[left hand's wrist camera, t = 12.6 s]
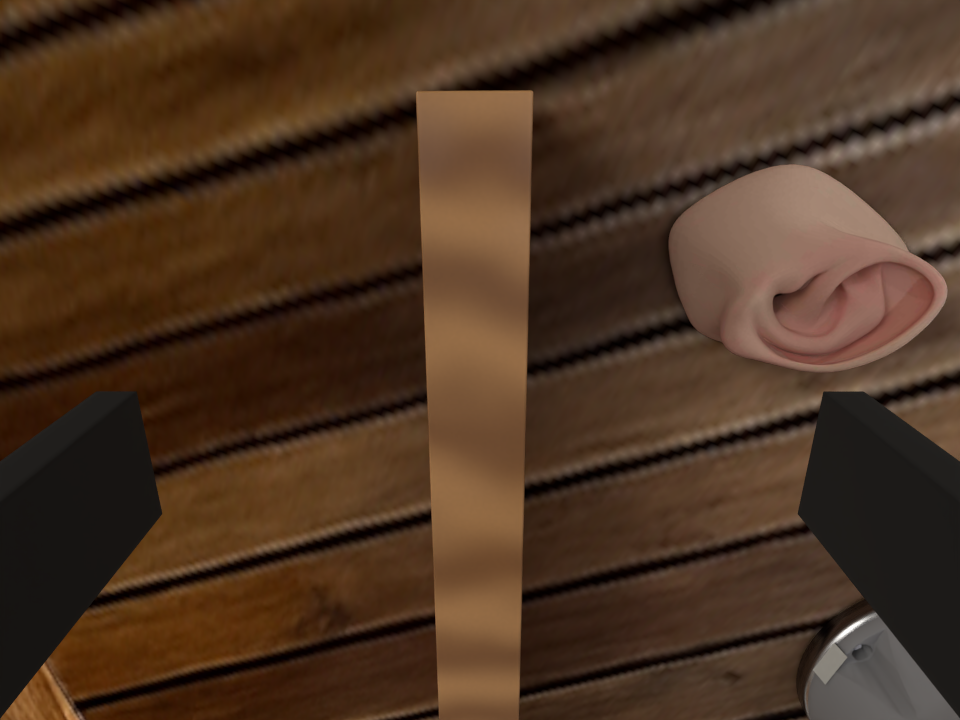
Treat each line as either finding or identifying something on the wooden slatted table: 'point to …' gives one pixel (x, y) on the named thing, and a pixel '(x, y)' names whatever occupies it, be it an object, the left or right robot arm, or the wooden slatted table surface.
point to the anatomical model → (800, 273)
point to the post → (476, 385)
